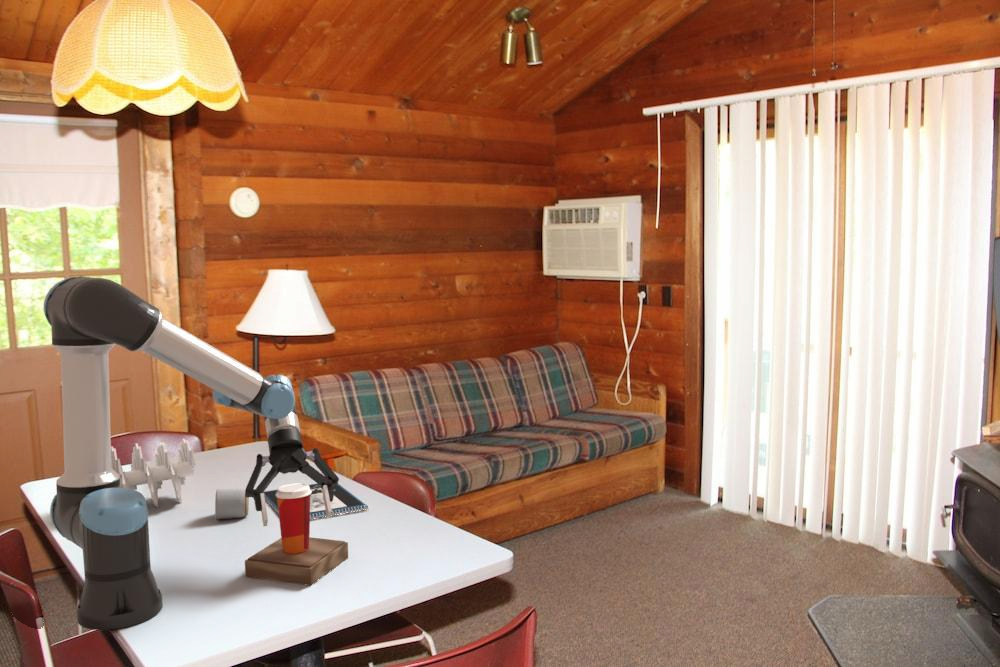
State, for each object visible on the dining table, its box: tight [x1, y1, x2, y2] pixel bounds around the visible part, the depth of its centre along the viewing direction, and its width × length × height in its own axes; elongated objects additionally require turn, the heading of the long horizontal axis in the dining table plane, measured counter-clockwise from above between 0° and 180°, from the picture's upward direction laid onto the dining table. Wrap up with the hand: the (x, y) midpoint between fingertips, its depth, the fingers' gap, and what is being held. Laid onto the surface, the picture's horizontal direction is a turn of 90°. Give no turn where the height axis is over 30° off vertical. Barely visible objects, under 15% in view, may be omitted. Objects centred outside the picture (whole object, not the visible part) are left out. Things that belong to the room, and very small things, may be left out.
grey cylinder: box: [214, 488, 250, 520], centre depth 222 cm, size 11×8×8 cm
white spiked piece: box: [111, 438, 196, 508], centre depth 229 cm, size 18×18×25 cm
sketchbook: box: [263, 483, 369, 521], centre depth 232 cm, size 22×30×2 cm
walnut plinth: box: [244, 536, 349, 586], centre depth 186 cm, size 16×16×4 cm
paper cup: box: [275, 482, 312, 554], centre depth 185 cm, size 8×8×14 cm
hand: (298, 518), depth 183 cm, fingers open, 13 cm apart
